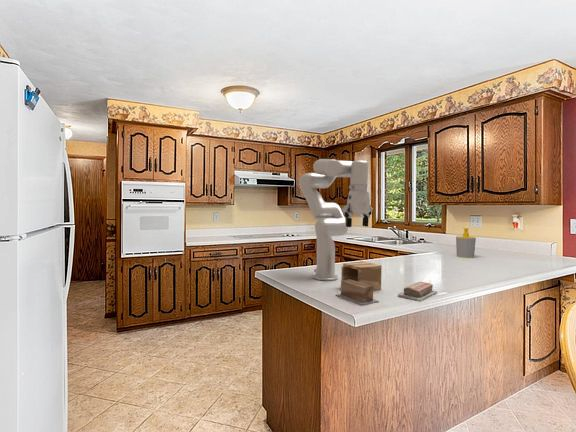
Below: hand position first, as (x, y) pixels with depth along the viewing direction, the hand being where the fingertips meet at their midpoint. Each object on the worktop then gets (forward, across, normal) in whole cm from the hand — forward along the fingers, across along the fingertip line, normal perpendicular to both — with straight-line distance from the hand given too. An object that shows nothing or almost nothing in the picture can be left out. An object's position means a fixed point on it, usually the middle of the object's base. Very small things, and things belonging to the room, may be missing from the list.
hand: (357, 226), depth 157 cm
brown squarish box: (+29, +4, 0) cm, 30 cm away
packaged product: (+29, +19, -20) cm, 40 cm away
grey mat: (+29, -9, -12) cm, 32 cm away
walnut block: (+28, -9, -12) cm, 32 cm away
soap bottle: (+32, +136, +36) cm, 144 cm away
